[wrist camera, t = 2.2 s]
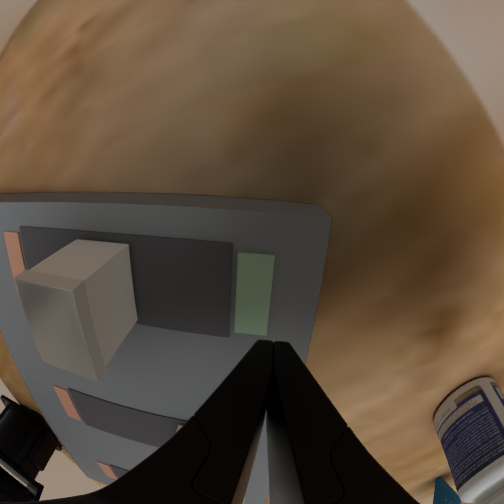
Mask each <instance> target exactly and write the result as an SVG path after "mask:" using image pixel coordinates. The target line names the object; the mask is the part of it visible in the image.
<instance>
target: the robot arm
mask: <svg viewBox="0 0 504 504" xmlns="http://www.w3.org/2000/svg"><path fill="white" fill-rule="evenodd" d="M0 398H1V400H2V402H3V403H4V405H5V406H6V408H5V409H4V410H3V412H2V413H1V414H0V463H1V464H2V465H3V466H4V467H5V468H6V469H8V470H9V471H10V472H11V473H12V474H14V475H15V476H16V477H17V478H18V479H20V480H21V481H22V482H24V483H25V484H26V485H27V486H26V487H25V486H24V485H23V484H21V483H20V482H19V481H18V480H16V479H15V478H14V477H13V476H11V475H10V474H9V473H8V472H6V471H5V470H4V469H3V468H1V466H0V504H243V501H244V497H245V494H246V490H247V486H248V483H249V479H250V475H251V472H252V468H253V464H254V460H255V457H256V453H257V449H258V445H259V441H260V437H261V433H262V429H263V425H264V420H265V415H266V432H267V452H268V471H269V491H270V504H420V503H418V502H417V501H416V500H415V499H414V498H413V497H412V496H411V495H410V494H409V493H408V492H407V491H406V490H405V489H404V488H403V487H402V486H401V485H400V484H399V483H398V482H397V481H395V480H394V479H393V478H392V477H391V475H390V474H389V473H388V472H387V471H386V470H385V469H384V468H383V467H382V466H381V465H380V464H379V463H378V462H377V461H376V460H375V459H374V458H373V457H372V455H371V454H370V453H369V452H368V451H367V450H366V448H365V447H364V446H363V445H362V443H361V442H360V441H359V439H358V438H357V437H356V435H355V434H354V433H353V431H352V430H351V428H350V427H347V426H348V425H347V423H346V422H345V420H344V419H343V418H342V416H341V415H340V413H339V412H338V411H337V409H336V408H335V406H334V405H333V404H332V402H331V401H330V399H329V398H328V397H327V395H326V394H325V392H324V391H323V390H322V388H321V387H320V385H319V384H318V383H317V381H316V380H315V378H314V377H313V375H312V374H311V373H310V371H309V370H308V368H307V367H306V366H305V364H304V363H303V361H302V360H301V358H300V357H299V355H298V354H297V353H296V351H295V350H294V348H293V347H292V345H291V344H290V343H289V342H286V341H274V343H273V341H271V340H262V339H259V340H257V341H256V342H255V343H254V345H253V346H252V347H251V348H250V349H249V351H248V352H247V353H246V354H245V355H244V357H243V358H242V359H241V360H240V361H239V363H238V364H237V365H236V366H235V367H234V369H233V370H232V371H231V372H230V373H229V374H228V376H227V377H226V378H225V379H224V380H223V381H222V383H221V384H220V385H219V386H218V387H217V388H216V390H215V391H214V392H213V393H212V394H211V395H210V396H209V398H208V399H207V400H206V401H205V402H204V403H203V404H202V405H201V407H200V408H199V409H198V410H197V411H196V412H195V413H194V416H191V417H190V419H189V420H188V421H187V422H186V423H185V424H184V425H183V426H182V427H181V428H180V429H179V430H178V431H177V432H176V433H175V434H174V435H173V436H172V437H171V438H170V439H169V440H168V441H167V442H165V443H164V444H163V445H162V446H161V447H160V448H158V449H157V450H156V451H155V452H153V453H152V454H151V455H150V456H148V457H147V458H146V459H144V460H143V461H142V462H140V463H139V464H138V465H136V466H135V467H134V468H132V469H131V470H129V471H128V472H127V473H125V474H124V475H123V476H121V477H120V478H118V479H117V480H115V481H114V482H112V483H111V484H109V485H108V486H106V487H104V488H102V489H100V490H97V491H95V492H92V493H89V494H85V495H79V496H73V497H67V498H60V499H52V500H43V501H39V499H40V496H41V493H42V491H43V488H44V486H43V485H42V484H40V483H38V482H36V481H35V478H36V476H37V474H38V472H39V471H43V470H44V468H45V467H46V465H47V463H48V461H49V459H50V457H51V456H52V454H53V452H54V451H55V449H56V450H58V451H61V449H62V447H61V446H60V444H59V443H58V442H57V440H56V439H55V437H54V436H53V435H52V433H51V432H50V430H49V429H48V427H47V426H46V424H45V422H44V421H43V419H42V418H41V417H40V416H39V415H38V414H36V413H34V412H32V411H30V410H28V409H27V408H25V407H23V406H21V405H19V404H17V403H16V402H14V401H12V400H10V399H9V398H7V397H5V396H4V395H2V396H1V397H0Z"/></svg>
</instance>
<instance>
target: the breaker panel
mask: <svg viewBox="0 0 504 504" xmlns="http://www.w3.org/2000/svg"><path fill="white" fill-rule="evenodd" d="M331 222H332V218H331V217H330V215H329V214H328V212H327V211H326V209H325V207H324V206H323V205H315V204H306V203H295V202H285V201H274V200H262V199H249V198H236V197H221V196H204V195H185V194H162V193H130V192H40V193H10V194H0V330H1V333H2V335H3V337H4V340H5V342H6V345H7V347H8V349H9V352H10V354H11V356H12V358H13V360H14V363H15V365H16V367H17V369H18V371H19V373H20V375H21V377H22V379H23V381H24V383H25V385H26V386H27V388H28V390H29V392H30V394H31V396H32V397H33V399H34V401H35V403H36V404H37V406H38V408H39V410H40V411H41V413H42V414H43V416H44V418H45V419H46V421H47V422H48V424H49V426H50V427H51V429H52V430H53V432H54V433H55V435H56V436H57V438H58V439H59V440H60V442H61V443H62V445H63V446H64V448H65V449H66V450H67V452H68V453H69V454H70V456H71V457H72V458H73V460H74V461H75V462H76V464H77V465H78V466H79V467H80V469H81V470H82V471H83V472H84V473H85V475H86V476H87V477H89V478H91V479H94V480H96V481H99V482H101V483H104V484H107V485H109V484H111V483H112V482H114V481H115V480H117V479H118V478H120V477H121V476H123V475H124V474H125V473H127V472H128V471H129V470H131V469H132V468H134V467H135V466H136V465H138V464H139V463H140V462H142V461H143V460H144V459H146V458H147V457H148V456H150V455H151V454H152V453H153V452H155V451H156V450H157V449H158V448H160V447H161V446H162V445H163V444H164V443H165V442H167V441H168V440H169V439H170V438H171V437H172V436H173V435H174V434H175V433H176V431H177V428H178V425H184V424H185V423H186V422H187V421H188V420H189V419H190V417H191V416H194V413H195V412H196V411H197V410H198V409H199V408H200V407H201V405H202V404H203V403H204V402H205V401H206V400H207V399H208V398H209V396H210V395H211V394H212V393H213V392H214V391H215V390H216V388H217V387H218V386H219V385H220V384H221V383H222V381H223V380H224V379H225V378H226V377H227V376H228V374H229V373H230V372H231V371H232V370H233V369H234V367H235V366H236V365H237V364H238V363H239V361H240V360H241V359H242V358H243V357H244V355H245V354H246V353H247V352H248V351H249V349H250V348H251V347H252V346H253V345H254V343H255V342H256V341H257V340H259V339H262V340H271V341H273V343H274V341H286V342H289V343H290V344H291V345H292V347H293V348H294V350H295V351H296V353H297V354H298V355H299V357H300V358H301V360H302V361H303V363H304V364H305V362H306V358H307V353H308V349H309V344H310V340H311V335H312V330H313V326H314V321H315V316H316V311H317V306H318V300H319V295H320V290H321V284H322V278H323V273H324V267H325V261H326V255H327V249H328V242H329V235H330V229H331ZM76 239H80V240H90V241H101V242H111V243H122V244H129V254H130V264H131V274H132V282H133V290H134V298H135V305H136V312H137V318H138V320H137V321H136V323H135V324H134V326H133V327H132V329H131V330H130V332H129V333H128V334H127V336H126V337H125V339H124V340H123V342H122V343H121V345H120V346H119V347H118V349H117V350H116V352H115V353H114V355H113V356H112V358H111V359H110V361H109V362H108V364H107V365H106V371H105V372H104V374H103V375H102V377H101V378H100V380H99V381H95V380H92V379H89V378H86V377H83V376H80V375H77V374H74V373H71V372H68V371H65V370H63V369H60V368H57V367H55V366H52V365H49V364H47V363H44V362H43V361H42V359H41V357H40V354H39V352H38V349H37V347H36V344H35V342H34V339H33V336H32V334H31V331H30V328H29V325H28V322H27V319H26V316H25V313H24V310H23V307H22V304H21V300H20V297H19V293H18V290H17V286H16V282H15V279H14V277H16V276H17V275H19V274H20V273H22V272H23V271H24V270H30V269H31V268H33V267H34V266H36V265H37V264H39V263H40V262H42V261H43V260H45V259H46V258H48V257H49V256H51V255H52V254H54V253H55V252H57V251H59V250H60V249H62V248H63V247H65V246H67V245H68V244H70V243H71V242H73V241H75V240H76ZM268 494H269V471H268V452H267V432H266V415H265V420H264V425H263V429H262V433H261V437H260V441H259V445H258V449H257V453H256V457H255V460H254V464H253V468H252V472H251V475H250V479H249V483H248V486H247V490H246V494H245V497H244V501H243V504H265V503H266V500H267V497H268Z"/></svg>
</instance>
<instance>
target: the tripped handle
mask: <svg viewBox="0 0 504 504" xmlns="http://www.w3.org/2000/svg"><path fill="white" fill-rule="evenodd" d="M14 279H15V282H16V286H17V290H18V293H19V297H20V300H21V304H22V307H23V310H24V313H25V316H26V319H27V322H28V325H29V328H30V331H31V334H32V336H33V339H34V342H35V344H36V347H37V349H38V352H39V354H40V357H41V359H42V361H43V362H44V363H47V364H49V365H52V366H55V367H57V368H60V369H63V370H65V371H68V372H71V373H74V374H77V375H80V376H83V377H86V378H89V379H92V380H95V381H99V380H100V378H101V377H102V375H103V374H104V372H105V371H106V365H107V364H108V362H109V361H110V359H111V358H112V356H113V355H114V353H115V352H116V350H117V349H118V347H119V346H120V345H121V343H122V342H123V340H124V339H125V337H126V336H127V334H128V333H129V332H130V330H131V329H132V327H133V326H134V324H135V323H136V321H137V320H138V318H137V312H136V305H135V298H134V290H133V282H132V274H131V264H130V254H129V244H122V243H111V242H101V241H90V240H80V239H76V240H75V241H73V242H71V243H70V244H68V245H67V246H65V247H63V248H62V249H60V250H59V251H57V252H55V253H54V254H52V255H51V256H49V257H48V258H46V259H45V260H43V261H42V262H40V263H39V264H37V265H36V266H34V267H33V268H31V269H30V270H24V271H23V272H22V273H20V274H19V275H17V276H16V277H14Z"/></svg>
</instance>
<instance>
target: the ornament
mask: <svg viewBox="0 0 504 504" xmlns="http://www.w3.org/2000/svg"><path fill="white" fill-rule="evenodd" d="M433 504H461V500H460V498H459V496H458V494H457V493H456V492H455V491H454V490H453V489H452V488H451V487H450V486H449V485H448V484H447V483H446V482H445V481H444V479H443V478H437V479H436V481H435V491H434V499H433Z"/></svg>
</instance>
